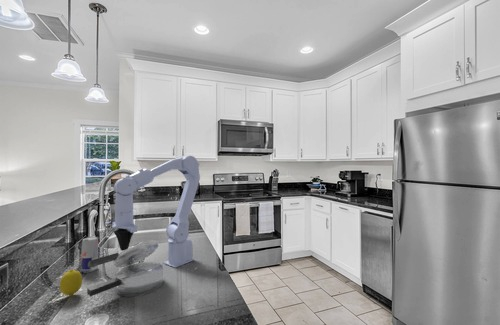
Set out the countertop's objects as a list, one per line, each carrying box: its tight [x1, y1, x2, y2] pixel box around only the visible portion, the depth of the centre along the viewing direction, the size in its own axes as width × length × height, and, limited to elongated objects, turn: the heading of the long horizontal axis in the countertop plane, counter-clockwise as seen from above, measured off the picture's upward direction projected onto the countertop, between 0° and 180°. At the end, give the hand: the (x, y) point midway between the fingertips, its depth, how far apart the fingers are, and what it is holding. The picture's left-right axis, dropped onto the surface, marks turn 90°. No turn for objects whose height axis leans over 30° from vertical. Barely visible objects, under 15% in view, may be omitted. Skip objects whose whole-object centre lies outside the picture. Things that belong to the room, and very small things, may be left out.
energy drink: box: [80, 236, 99, 274], centre depth 92 cm, size 5×5×12 cm
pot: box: [86, 261, 164, 298], centre depth 76 cm, size 22×14×5 cm, turn 143°
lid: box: [88, 239, 159, 268], centre depth 78 cm, size 21×14×2 cm
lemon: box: [59, 269, 83, 297], centre depth 73 cm, size 6×6×8 cm
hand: (124, 249), depth 86 cm, fingers closed
